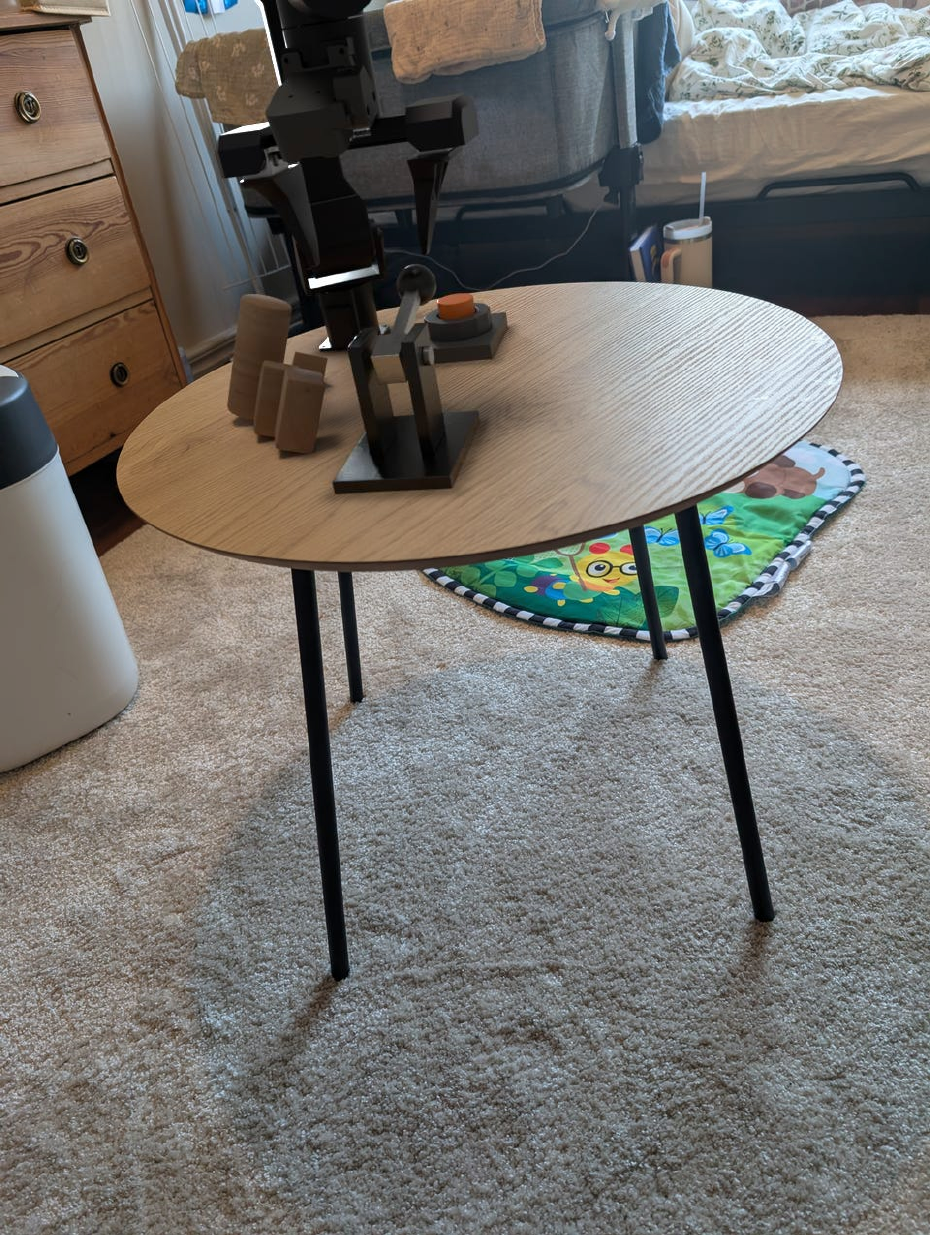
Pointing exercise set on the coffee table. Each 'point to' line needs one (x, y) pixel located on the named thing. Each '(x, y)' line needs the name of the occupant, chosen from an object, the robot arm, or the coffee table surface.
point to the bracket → (404, 425)
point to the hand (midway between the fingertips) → (370, 259)
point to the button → (455, 306)
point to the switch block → (466, 335)
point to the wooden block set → (274, 377)
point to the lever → (402, 323)
